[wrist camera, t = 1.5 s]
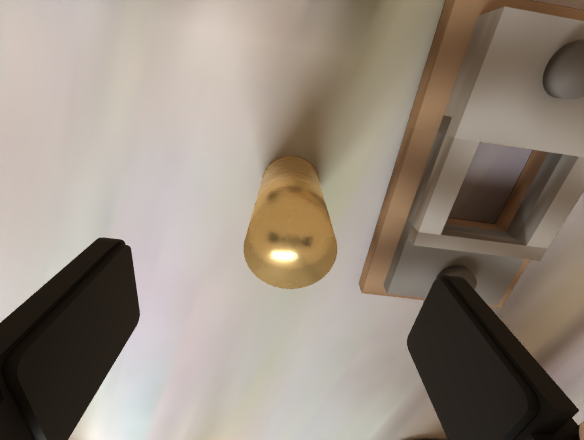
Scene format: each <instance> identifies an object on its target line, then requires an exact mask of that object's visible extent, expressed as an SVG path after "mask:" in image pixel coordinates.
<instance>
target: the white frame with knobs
mask: <svg viewBox="0 0 584 440" xmlns="http://www.w3.org/2000/svg"><path fill="white" fill-rule="evenodd" d="M480 142H485V143H492V144H498V145H505V146H511V147H518V148H525V149H531V150H533V151H532V153H531V155H530V157H529V159H528V161H527V163H526V165H525V167H524V169H523V171H522V173H521V175H520V177H519V179H518V181H517V183H516V185H515V187H514V189H513V191H512V193H511V194H510V196H509V198H508V200H507V202H506V204H505V206H504V208H503V210H502V212H501V214H500V216H499V218H498V220H497V222H496V224H491V223H483V222H475V221H468V220H460V219H453V218H448V216H449V214H450V211H451V209H452V207H453V204H454V202H455V199H456V197H457V195H458V192H459V190H460V188H461V185H462V183H463V181H464V178H465V176H466V174H467V171H468V169H469V166H470V164H471V162H472V159H473V157H474V155H475V152H476V150H477V148H478V145H479V143H480ZM583 191H584V10H579V9H574V8H569V7H564V6H558V5H553V4H548V3H542V2H537V1H532V0H446V1H445V4H444V7H443V10H442V14H441V17H440V20H439V23H438V27H437V30H436V33H435V36H434V40H433V43H432V46H431V49H430V53H429V56H428V59H427V63H426V66H425V69H424V72H423V76H422V79H421V82H420V85H419V89H418V92H417V95H416V98H415V102H414V105H413V108H412V112H411V115H410V118H409V121H408V125H407V128H406V131H405V134H404V138H403V141H402V144H401V147H400V151H399V154H398V157H397V161H396V164H395V167H394V170H393V174H392V177H391V180H390V183H389V187H388V190H387V193H386V196H385V200H384V203H383V206H382V209H381V213H380V216H379V219H378V223H377V226H376V229H375V232H374V236H373V239H372V242H371V245H370V249H369V252H368V255H367V258H366V262H365V265H364V268H363V272H362V275H361V278H360V281H359V286H360V289H361V292H362V293H366V294H375V295H384V296H393V297H402V298H411V299H420V300H425V299H426V297H427V295H428V293H429V291H430V288H431V286H432V284H433V282H434V281H435V280H436V279H439V277H441V276H442V275H449V276H458V277H463V278H464V279H465V280H466V281H467V282H468V283H469V284H470V285H471V286H472V288H473V289H474V290H475V291H476V292H477V293H478V294H479V296H480V297H481V298H482V299H483V300H484V301H485V302H486V304H487V305H488V306H489V307H492V308H501V307H502V305H503V304H504V302H505V300H506V299H507V297H508V296H509V294H510V292H511V291H512V289H513V287H514V286H515V284H516V282H517V281H518V279H519V277H520V276H521V274H522V273H523V271H524V269H525V268H526V266H527V264H528V263H529V261H530V260H537V261H540V260H541V258H542V257H543V255H544V254H545V252H546V250H547V249H548V247H549V246H550V244H551V242H552V241H553V239H554V238H555V236H556V234H557V233H558V231H559V230H560V228H561V226H562V225H563V223H564V222H565V220H566V218H567V217H568V215H569V214H570V212H571V211H572V209H573V207H574V206H575V204H576V203H577V201H578V199H579V198H580V196H581V195H582V193H583Z"/></svg>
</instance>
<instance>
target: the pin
mask: <svg viewBox="0 0 584 440" xmlns="http://www.w3.org/2000/svg"><path fill="white" fill-rule="evenodd" d="M336 255H337V242H336V238H335V235H334V231H333V228H332V224H331V221H330V218H329V214H328V211H327V207H326V204H325V200H324V197H323V193H322V190H321V186H320V183H319V179H318V176H317V173H316V171H315V169H314V168H313V166H312V165H311V164H310V163H309V162H307V161H306V160H304V159H302V158H299V157H296V156H285V157H281V158H279V159H277V160H275V161H273V162H272V163H271V164H270V165H269V166H268V167H267V169H266V171H265V173H264V176H263V179H262V182H261V186H260V189H259V193H258V196H257V200H256V203H255V207H254V210H253V214H252V217H251V221H250V224H249V227H248V231H247V234H246V238H245V242H244V256H245V260H246V262H247V264H248V266H249V268H250V269H251V271H252V272H253V273H254V274H255V275H256V276H257V277H258V278H259V279H261V280H262V281H264V282H266V283H267V284H270V285H272V286H275V287H279V288H287V289H294V288H302V287H306V286H309V285H311V284H313V283H315V282H317V281H319V280H320V279H322V278H323V277H324V276H325V275H326V274H327V273H328V272H329V271H330V269H331V268H332V266H333V264H334V262H335V259H336Z"/></svg>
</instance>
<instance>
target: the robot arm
mask: <svg viewBox="0 0 584 440" xmlns="http://www.w3.org/2000/svg"><path fill="white" fill-rule="evenodd" d="M139 317H140V311H139V303H138V296H137V289H136V282H135V274H134V267H133V260H132V253H131V248H130V246H128V245H125V242H124V241H123V240H120V239H111V238H98V239H97V240H96V241H94V242H93V243H92V244H91V245H90V246H89V247H88V248H86V249H85V250H84V251H83V252H82V253H81V254H79V255H78V256H77V257H76V258H75V259H74V260H73V261H71V262H70V263H69V264H68V265H67V266H66V267H64V268H63V269H62V270H61V271H60V272H59V273H57V274H56V275H55V276H54V277H53V278H52V279H51V280H49V281H48V282H47V283H46V284H45V285H44V286H42V287H41V288H40V289H39V290H38V291H37V292H36V293H34V294H33V295H32V296H31V297H30V298H29V299H27V300H26V301H25V302H24V303H23V304H22V305H20V306H19V307H18V308H17V309H16V310H15V311H14V312H12V313H11V314H10V315H9V316H8V317H7V318H5V319H4V320H3V321H2V322H1V323H0V440H68V439H69V437H70V435H71V434H72V432H73V430H74V429H75V427H76V426H77V424H78V422H79V421H80V419H81V417H82V416H83V414H84V412H85V411H86V409H87V407H88V406H89V404H90V402H91V401H92V399H93V397H94V396H95V394H96V392H97V391H98V389H99V387H100V386H101V384H102V382H103V381H104V379H105V377H106V376H107V374H108V372H109V371H110V369H111V367H112V366H113V364H114V362H115V361H116V359H117V357H118V356H119V354H120V352H121V351H122V349H123V347H124V346H125V344H126V342H127V341H128V339H129V337H130V336H131V334H132V332H133V331H134V329H135V327H136V326H137V324H138V321H139ZM407 346H408V350H409V352H410V354H411V357H412V359H413V361H414V363H415V366H416V368H417V370H418V373H419V375H420V377H421V379H422V382H423V384H424V386H425V388H426V391H427V393H428V395H429V398H430V400H431V402H432V404H433V407H434V409H435V411H436V413H437V416H438V418H439V420H440V423H441V425H442V427H443V429H444V432H445V434H446V436H447V438H448V440H584V421H583V422H582V423H581V424H580V425H577V423H576V422H575V421H574V420H573V419H572V417H573V416H574V415H575V414H576V413H577V412H578V411H579V409H578V408H577V407H576V406H575V405H574V404H573V403H572V401H571V400H570V399H569V398H568V397H567V396H566V394H565V393H564V392H563V391H562V390H561V389H560V388H559V386H558V385H557V384H556V383H555V382H554V381H553V380H552V378H551V377H550V376H549V375H548V374H547V373H546V371H545V370H544V369H543V368H542V367H541V366H540V365H539V363H538V362H537V361H536V360H535V359H534V358H533V357H532V355H531V354H530V353H529V352H528V351H527V350H526V348H525V347H524V346H523V345H522V344H521V343H520V342H519V340H518V339H517V338H516V337H515V336H514V335H513V334H512V332H511V331H510V330H509V329H508V328H507V327H506V325H505V324H504V323H503V322H502V321H501V320H500V319H499V317H498V316H497V315H496V314H495V313H494V312H493V311H492V309H491V308H490V307H489V306H488V305H487V304H486V302H485V301H484V300H483V299H482V298H481V297H480V296H479V294H478V293H477V292H476V291H475V290H474V289H473V288H472V286H471V285H470V284H469V283H468V282H467V281H466V280H465V279H464V278H463V277H458V276H449V275H442V276H441V277H439V279H436V280H435V281H434V282H433V284H432V286H431V288H430V291H429V293H428V295H427V297H426V299H425V301H424V303H423V306H422V308H421V310H420V312H419V314H418V316H417V318H416V321H415V323H414V325H413V327H412V329H411V331H410V333H409V335H408V338H407Z"/></svg>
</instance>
